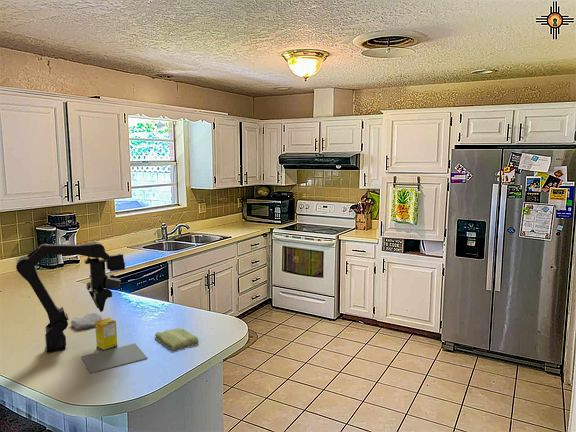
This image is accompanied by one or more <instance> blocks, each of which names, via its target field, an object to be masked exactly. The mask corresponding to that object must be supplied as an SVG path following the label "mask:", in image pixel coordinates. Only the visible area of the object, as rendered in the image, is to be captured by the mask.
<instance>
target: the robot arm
mask: <svg viewBox="0 0 576 432" xmlns="http://www.w3.org/2000/svg"><path fill="white" fill-rule="evenodd" d="M67 255H69V256H84V257H87V258H86V259H85V260H84V264H85V265H89V272H90V274H89V279H90V281H88V282H87V283H86V290H87V291H88V293H89V295H90V297H91V299H92V301H93V302H94V303H93V304H95V306H96V308H97V309H98V310H99V312H100V313H103V312H104V308H105V304H106V301H107V300H108V299H110V298H112V297H113V292H112V291H111V290H110V287H111V288H115V289H120V285H121V283H122V280H121V279H120V278H118V277H116V275H114V274H110V275H109V276H108V275H107V273H106V269H107V270H109V273H110V272H111V273H112V272H117V271H124V270H125V269H126V262H125V259H124V254H123V253H118V254H110V255H109V253H108V252H106V249H105V246H104V245H103V244H102V243H101V242H99V241H92V242H91V241H90V242H85V243H81V244H62V243H61V244H59V243H58V244H57V243H55V244H48V243H41V244H40V245H39V246H38V247H37V248H35V249H34V250H32V251H31V252H29V253H28V254H27V255H26V256H25V255H24V256H21V257H19V259H17V262H16V267H15V270H16V271H17V272H18V274H20V276H21V277H22V278H24V280H25V281H26V282H27V283H28V284H29V285H30V287H31V289H32V291H34V293H35V295H36V296H37V298H38V300H39V302H40V304H41V305H42V307H43V309H44V310H45V312H46V314H47V318H48V320H49V322H48V323H47V325H45V334H44V339H45V347H44V349H45V351H46V353H47V354H50V353H55V352H59V351H64V350H67V349H66V347H67V338H66V337H67V336H66V334H65V332H64V331H65V330H67V328H68V326H69V315H68V314H67V313H66V311H65V309H64V307H63V306H61V307H60V308H59V307H58V306H57V305H56V303H55V302H54V300H53V299H52V296H51V295H50V293H49V291H48V290H47V288H46V287H45V284H44V283H43V282H42V280H41V278H40V276H39V274H38V270H37V267H36V266H37V265H38V264H39V262H41V261H42V260H43V259H45V257H46V256H67Z"/></svg>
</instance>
